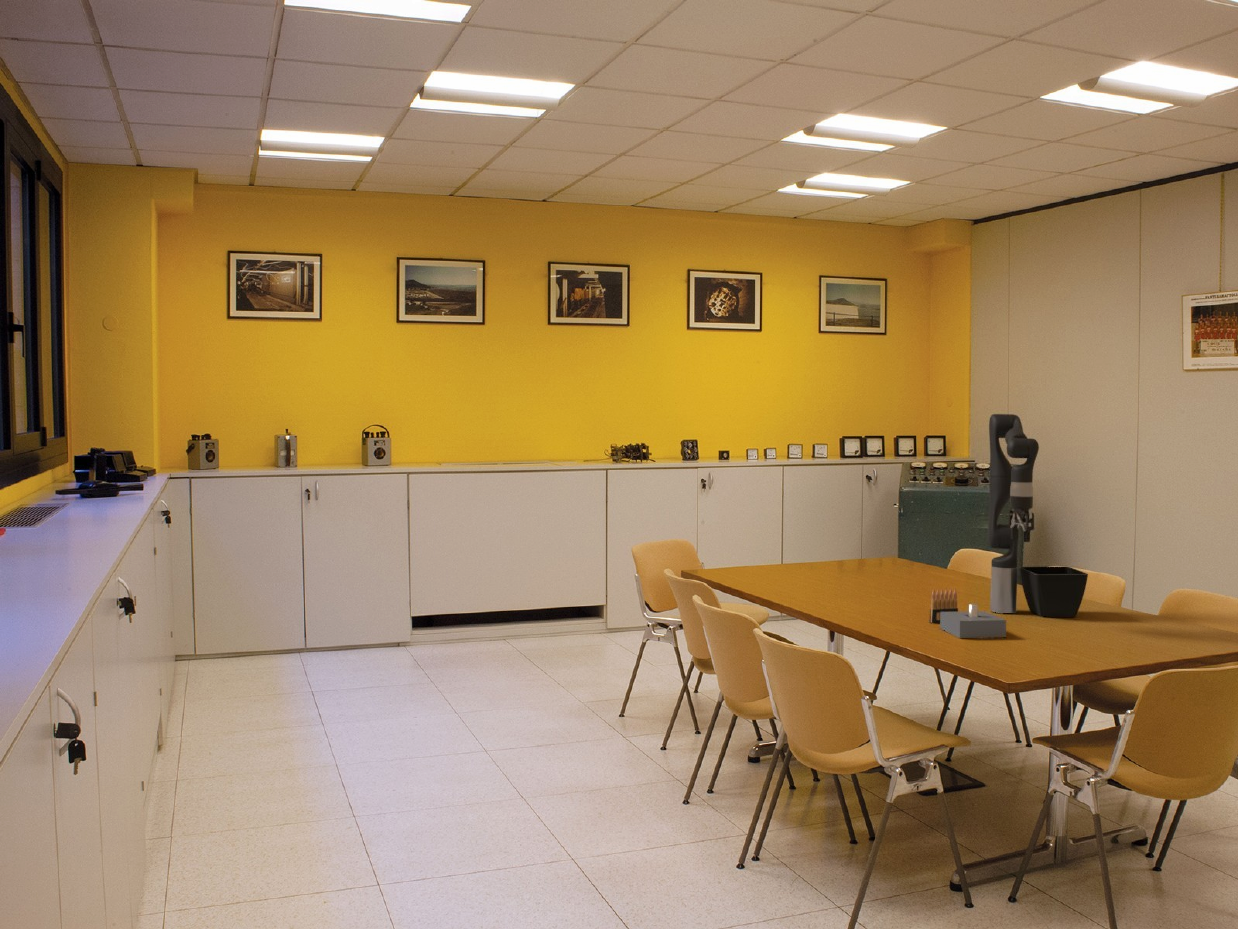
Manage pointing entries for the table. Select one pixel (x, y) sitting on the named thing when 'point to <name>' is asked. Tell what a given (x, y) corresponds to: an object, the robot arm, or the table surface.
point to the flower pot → (1053, 590)
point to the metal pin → (973, 610)
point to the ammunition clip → (942, 604)
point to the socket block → (973, 625)
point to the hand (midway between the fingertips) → (1020, 540)
